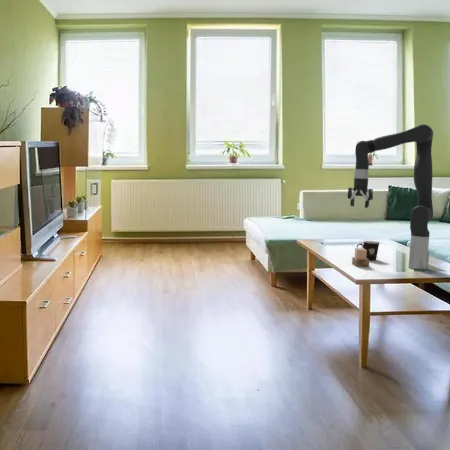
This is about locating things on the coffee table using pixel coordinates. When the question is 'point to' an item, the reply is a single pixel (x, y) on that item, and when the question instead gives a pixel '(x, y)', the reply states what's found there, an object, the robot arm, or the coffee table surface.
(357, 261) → the walnut box
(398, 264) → the coffee table surface
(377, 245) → the coffee mug
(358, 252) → the terracotta cube
